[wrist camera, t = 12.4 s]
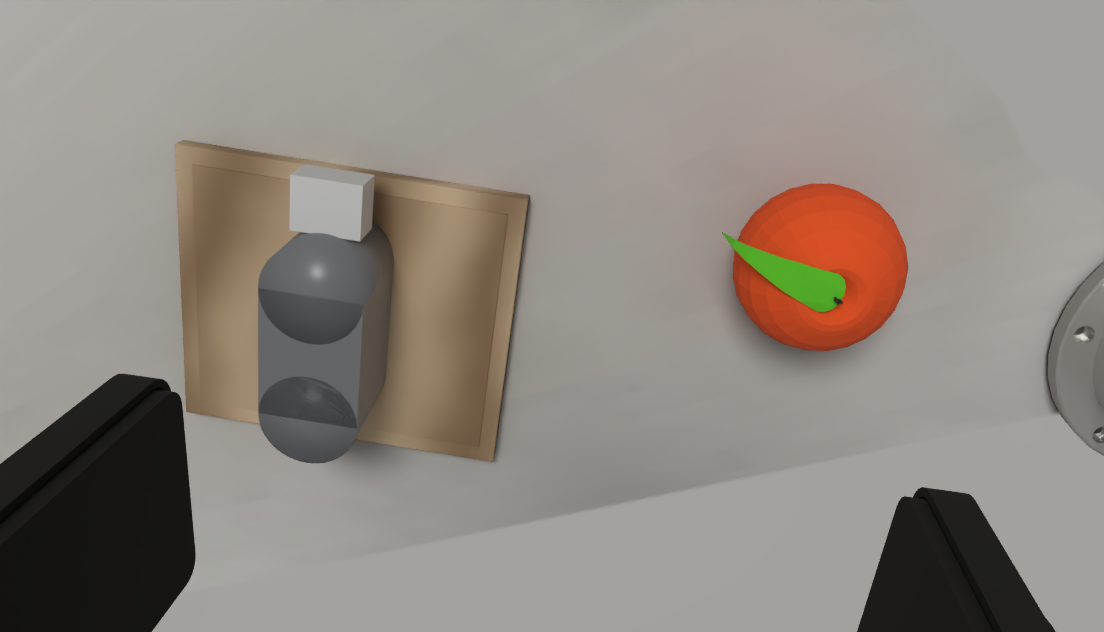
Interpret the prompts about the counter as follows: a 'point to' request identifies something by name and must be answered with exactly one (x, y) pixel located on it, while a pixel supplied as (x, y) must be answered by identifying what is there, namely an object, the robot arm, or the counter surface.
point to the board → (416, 301)
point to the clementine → (819, 267)
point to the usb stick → (324, 317)
